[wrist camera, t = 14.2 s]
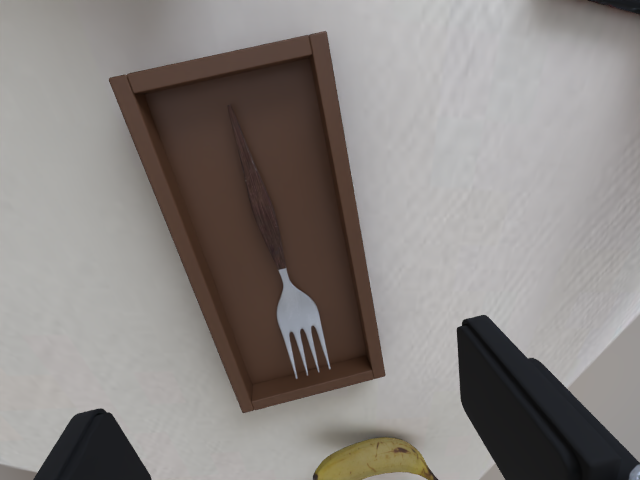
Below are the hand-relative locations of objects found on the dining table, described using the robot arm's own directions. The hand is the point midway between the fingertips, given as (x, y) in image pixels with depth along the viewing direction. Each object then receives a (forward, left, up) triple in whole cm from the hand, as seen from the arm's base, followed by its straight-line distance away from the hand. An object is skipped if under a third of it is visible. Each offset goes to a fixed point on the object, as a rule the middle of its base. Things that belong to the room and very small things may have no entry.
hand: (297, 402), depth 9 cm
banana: (-2, +18, -13) cm, 22 cm away
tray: (+1, 0, -12) cm, 12 cm away
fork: (0, 0, -12) cm, 12 cm away
